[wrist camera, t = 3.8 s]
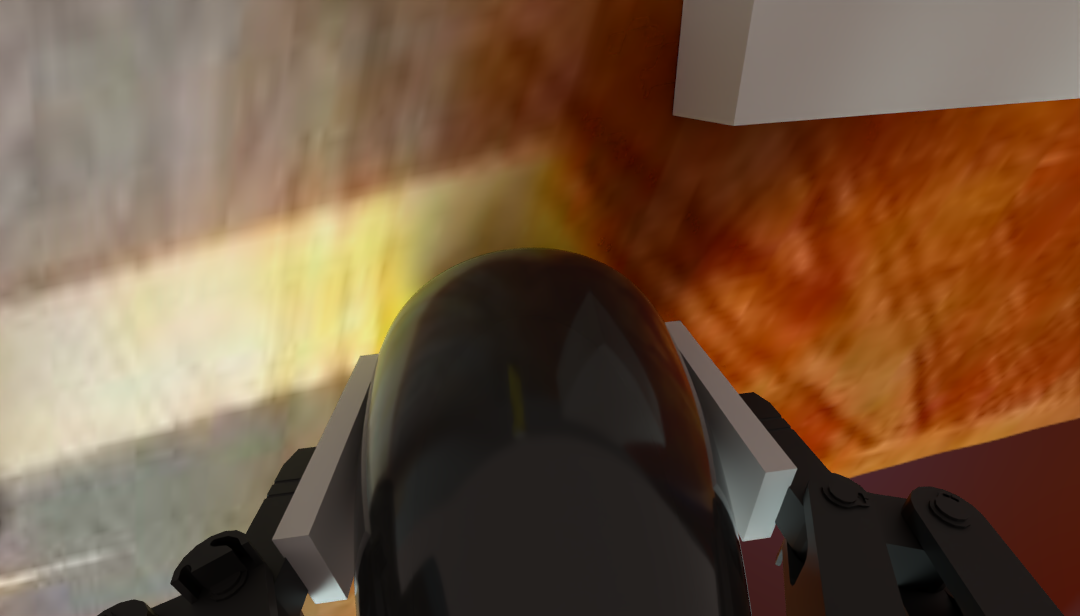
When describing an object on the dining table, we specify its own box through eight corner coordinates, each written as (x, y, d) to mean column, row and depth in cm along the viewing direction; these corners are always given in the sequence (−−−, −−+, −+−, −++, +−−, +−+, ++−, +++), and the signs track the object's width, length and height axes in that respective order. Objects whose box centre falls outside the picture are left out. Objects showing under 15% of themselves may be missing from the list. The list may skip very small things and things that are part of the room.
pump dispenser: (376, 212, 14) (-881, 1626, 1) (653, 212, 16) (1572, 940, 2) (411, 420, 19) (243, 1137, 6) (619, 408, 20) (851, 994, 7)
